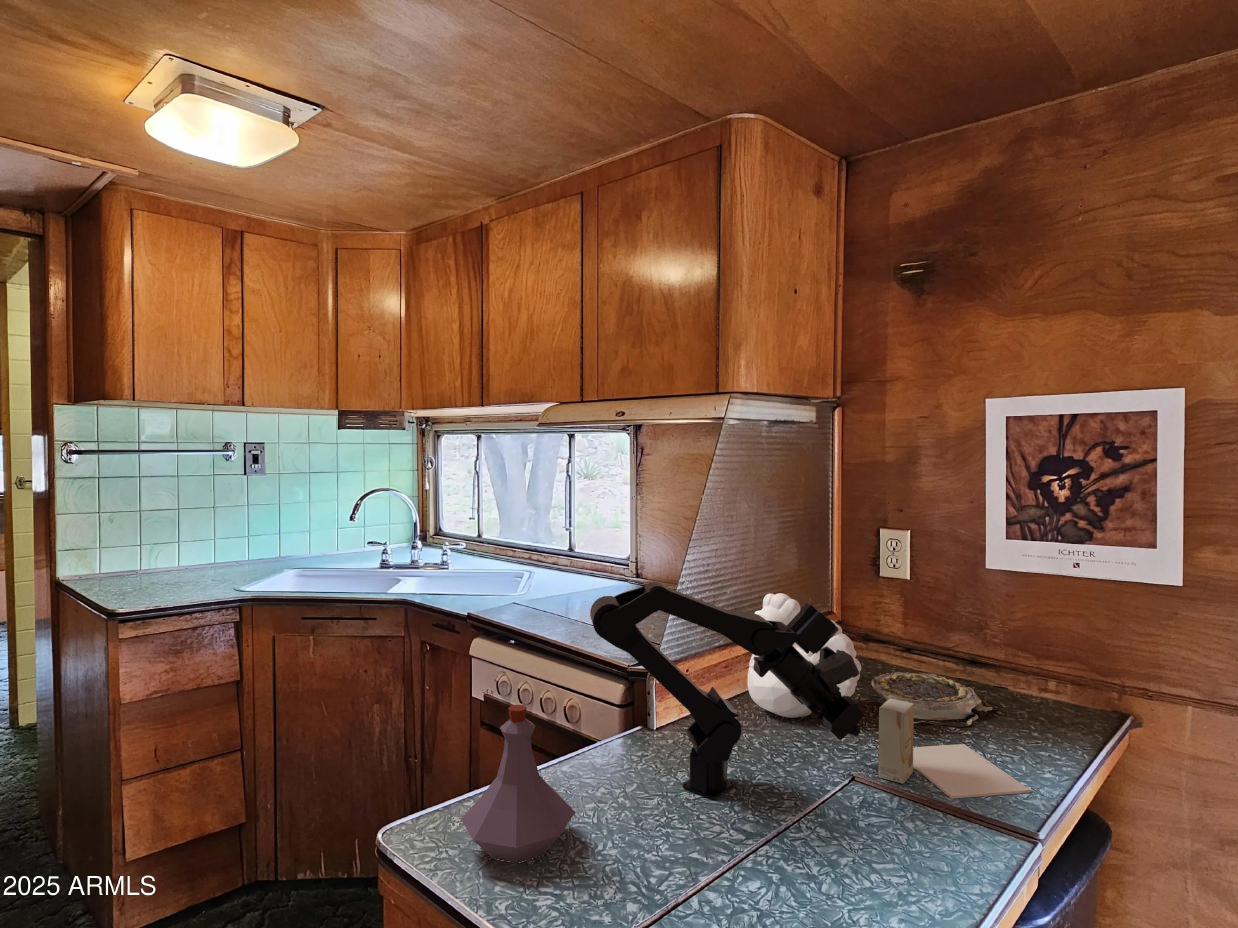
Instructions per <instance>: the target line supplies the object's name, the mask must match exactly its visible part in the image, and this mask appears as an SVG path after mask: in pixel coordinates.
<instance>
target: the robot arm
mask: <svg viewBox="0 0 1238 928" xmlns="http://www.w3.org/2000/svg"><path fill="white" fill-rule="evenodd" d="M657 612H663V613H665V614H668V615H671V616H672V617H676V618H679V619H682V620H684V621H686V622H688V623H692V624H694V625H697V626H700V627H702V628H705V629H708V630H710V631H713V632H716V633H717V634H721V635H722V636H723V637H726V639H727V640H730V641H731V642H733V643H734V644H736V645H737V646H739V647H740V648H743V649H744V650H746V651H747V652H749V653H750V654H751V655H752V654H754V655H756V656H760V657H754V671H755V672H756V673H757V674H758V675H759V676H760V677H764V676H765V674H766V673H767V672H768V671H771V672H772V673H773V674H774V675H775V676H776V677H777V678H778V679H779V680H780V681H781V682H782V683H783V684H784V685H785V686H786V687H787V688H788V689H789V690H790V691H791V694H792V695H793V696H794V697H795V698H796V699H797V700H798V701H799V702H800V703H801V704H802V705H803V704H804V705H805V706H806V707H807V708H809V709H810V710H811V711H812V713H811V714H812V715H813V716H814V717H815V718H816V719H817V720H819V721H820V722H821V724H822V725H823V726H824V727H825V728H826V729H828V730H829V732H830V733H832V734H833V736H835V737H836V738H837V739H838V740H839V741H840V740H843V739H844V738H846V736H848V734H849V735H852V736H854V737H857V736H859V735H860V733H861V730H860V728H859V727H858V723H859V722H860V720H862V719H863V718H864V716H866V709H864V707H862V706H861V705H860V704H859V703H858V702H857V701H856V700H854V699H853V698H852V697H851V696H850V697H849V696H845V695H844V696H841V692H840V691H839V690H840V688H839V687H838V686H837V684H841V683H843V682H845V681H846V680H848V679H850V678H852V677H856V676H858V675H859V671H858V669H857V666H856V664H855V662H854V660H853V658H852V656H851V655H849V654H848V653H846V652H845V651H840V650H836V651H837V652H836V653H835V652H834V651H833V650H832V649H830V648H829V647H827V646H826V647H824V648H822V647H823V646H824V645H825V644H826V643H827V642H828V641H829V640H830V639H831V638H832V637H833V636H834V635H835V633H836V632H837V631H838V630H839V629H838V627H837V626H836V625H835V624H834V623H833V622H832V621H831V620H832V619H830V618H829V617H827V616H825V615H824V614H823V613H822V612H820V611H819V610H818V609H816V608H815V606H813V604H810V603H809V602H806V603H805V604H804V605H802V607H800V612H799V613H798V614H797V615H796V616H795V617H794V618H793V619H792V620H791V621H790V622H789V623H788V625H787V626H786V625H785V624H784V623H782V622H778V621H769V620H765V619H764V618H763V617H761V616H760V615H758V614H755V613H753V612H748V611H742V610H734V609H732V610H731V609H725V608H721V607H719V606H717V605H714V604H712V603H709V602H706V601H703V600H701V599H699V598H696V597H693V596H691V595H688V594H686V593H683V592H680V591H678V590H675V589H672V588H670V587H668V586H665V585H664V584H662V583H661V582H658V581H651V582H649V583H646V584H645V585H643V586H641V587H636V588H634V589H629V590H627V591H624V592H621V593H619V594H616V595H614V596H613V595H604V596H601V597H598V598H597V599H596V600H594V602H592V605H591V608H590V611H589V614H590V615H589V617H590V620H591V623H592V626H593V629H594V632H595V633H596V634H597V636H599V637H600V638H602V639H603V640H605V641H606V642H607V643H608V644H610V645H612V646H614V647H615V648H617V649H619V650H621V651H623V652H626V653H627V654H629V655H630V656H631V657H632V658H633V659H634V660H635V661H637V663H638V664H639V665H640V666H642V668H644V669H645V670H646V672H648V673H649V674H650V675H651V676H652V677H653V678H654V679H655V680H656V681H657V682H659V684H660V685H661V686H662V687H663V688H664V689H665V690H666V691H667V692H669V694H671V695H672V696H673V697H674V698H675V699H676V700H677V701H678V702H679V703H680V704H681V705H682V706H683V707H684V708H685V709H686V710H687V711H688V713H690V715H691V716H692V718H693V719H694V721H693V722H692V723H691V724H690V725H689V727H687V728H686V730H685V731H686V735H687V737H688V741H689V742H690V743H691V745H692V747H691V749H690V753H689V780H687V781H685V782H683V783H682V788H683V789H685V790H688V791H690V792H693V793H695V794H698V795H700V796H703V797H705V798H708V799H711V800H716V799H718V798H719V797H720V796H722V795H723V794H725V793H726V792H728V791H729V790H731V789H732V788H734V787H735V781H732V780H729V779H728V761H729V760H730V756H731V753H732V751H733V749H734V746H735V745H737V743H738V742H739V740H740V739H741V735H742V724H741V723H740V721H739V720H738V719H737V717H739V713H738V712H737V711H736V710H735V708H734V707H733V705H732V704H731V703H730V701H729V700H727V699H725V698H723V697H722V696H721V695H720V694H719V693H718V691H717V689H716V688H715V687H714V686H712V687H711V688H710V690H709V691H708V692H707V691H705V690H703V689H702V688H700V687H698V686H697V685H696V684H695V683H694V681H692V680H691V679H690V677H688V676H687V675H686V674H685V673H684V672H683V671H682V670H681V669H680V668H679V667H678V666H677V665H676V664H674V662H673V661H672V660H671V659H669V658H668V657H667V655H666V654H664V653H663V652H662V650H661V649H659V648H658V647H657V646H656V644H654V643H653V642H652V641H651V640H650V639H649V638H648V637H647V636H646V635H645V634H644V633H643V632H642V630H641V629H640V628H639V627H638V624H639V623H641V622H643V620H645V619H647V618H648V617H650V616H651V615H653V614H655V613H657ZM794 643H795V644H796V645H797V646H799V647H800V648H801V649H802V650H803V651H804V652H805V653H806V654H808V653H809V651H810V652H811V653H812V654H813V655H814V654H815V653H816V654H817V653H818V652H819V651H820V659H819V660H818V661H819V663H817V664H816V665H814V664H813V663H812V662H810V661H808V660H807V659H806V658H805V657H804V656H803V655H801V654H800V653H799V652H798V651H797V650H796V649H795V648H794V647H793V646H792V645H793V644H794ZM821 648H822V649H821Z"/></svg>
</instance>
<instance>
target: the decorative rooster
mask: <svg viewBox="0 0 1238 928" xmlns="http://www.w3.org/2000/svg"><path fill="white" fill-rule="evenodd" d="M800 610H801V605H800V603H799V601H797V600H796V599H793V598H791V597H790V596H789V595H788V594H786V593H780V592H778V593H775V594H774V593H767V594H766V595H765V596H764V597H763V600H762V608H761V609H760V610H756V611H754V614H758V615H760V616H761V617H763V618H764V619H765V620H769V621H778V622H782V623H784V624H785V625H786V626H787V625H788V623H789V622H790V621H791V620H792V619H793V618H794V617H795V616H796V615H797V614H798V613H799V612H800ZM830 620H831V621H832V622H833V623H834V624H835V625H836V626H837V627H838V629H839V630H838V631H837V632H836V633H835V635H834V636H833V637H832V638H831V639H830V640H829V641H828V642H827V643H826V644H825V645H824V646H823V647H822V648H824V647H826V646H827V647H829V648H830V649H832V650H833V651H834V652H835V653H836V652H837V651H836V650H840V651H845V652H846V653H848V654H849V655H851V656H852V658H853V660H854V662H855V664H856V666H857V669H858V671H859V675H858V676H856V677H852V678H850V679H848V680H846V681H845V682H843V683H841V684H837V686H838V687H839V688H840V690H839V691H840V692H841V696H844V695H845V696H849V697H850V698H851V697H852V695H853V694H854V693H855V691H856V687H857V685H858V680H860V677H861V671H862V665H861V662H860V661H859V660H858V658H856V657H857V650H855V646H854V645H855V644H854V642H853V641H852V639H851V638H850V637H849V636H848V635H847V634H845V633H843V628H842V627H841V625H839V624H837V623H836V622H835V621H834V620H832V619H830ZM792 646H793V647H794V648H795V649H796V650H797V651H798V652H799V653H800V654H801V655H803V656H804V657H805V658H806V659H807V660H808V661H810V662H812V663H813V664H814V665H816V664H817V663H819V661H818V660H819V659H820V651H819V652H818V653H817V654H816V653H815V654H814V655H813V654H812V653H811V652H810V651H809V653H808V654H806V653H805V652H804V651H803V650H802V649H801V648H800V647H799V646H797V645H796V644H795V643H794V644H793V645H792ZM822 648H821V649H822ZM754 657H760V656H756V655H754V654H752V653H751V657H750V660H749V663H748V670H747V671H748V672H747V689H748V693H749V696H750V697H751V699H752V700H753V702H754V703H755V704H756V705H757V706H759V707H760V708H762V709H764V710H765V711H767V712H769V713H770V712H771V713H773V714H775V715H777V716H781V717H785V718H789V719H790V718H791V719H793V718H803V717H804V718H806V717H807V716H809V715H811V714H812V711H811V710H810V709H809V708H807V707H806V706H805V705H804V704H803V705H802V704H801V703H800V702H799V701H798V700H797V699H796V698H795V697H794V696H793V695H792V694H791V691H790V690H789V689H788V688H787V687H786V686H785V685H784V684H783V683H782V682H781V681H780V680H779V679H778V678H777V677H776V676H775V675H774V674H773V673H772V672H771V671H768V672H767V673H766V674H765V676H764V677H760V676H759V675H758V674H757V673H756V672H755V671H754Z"/></svg>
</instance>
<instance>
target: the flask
mask: <svg viewBox="0 0 1238 928" xmlns="http://www.w3.org/2000/svg"><path fill="white" fill-rule="evenodd" d="M507 709H508V714H509V715H508V716H509V719H508V720H507V721H506V722H505V723H503V724H502V725H501V726H500V727H499V729H500V731H501V734H502V735H503V737H504V745H503V752H502V756H501V760H500V762H499V763H500V764H499V767H498V770H497V775H496V777H495V778H494V780H493V781H492V782H491V783H490V785H489V786H488V787H487V788H486V790H485V791H484V793H482V795H481V796H480V797H479V798H478V799H477V800H476V801H475V802H474V804H472V806H471V807H470V808H469V809H468V810H467V811H466V812H465V814H463V815H462V817H461V818H460V820H461V822H462V824H463V826H464V827H465V829H466V831H467V832H468V834H469V836H470V837H471V839H472V841H473V842H475V844H476V845H478V846H479V848H480V849H482V850H483V851H484V852H485V853H486V854H487V855H488V856H490V858H491V859H493V858H495V859H499V860H504V861H510V862H514V863H513V864H515V863H519V862H522V861H525V860H529V859H532V858H535V859H537V858H536V857H539V856H542V855H543V856H544V855H545V853H546V852H547V851H548V850H549V849H550V848H551V846H552V845H553V844H554V843H555V842H556V840H558V838H559V837H560V836H561V834H562V832H563V831H564V830H565V828H566V827H567V825H569V823H570V821H571V820H572V819H573V817H574V816H575V814H576V810H574V809H573V808H572V807H571V805H570V804H569V803H568V802H567V801H566V800H565V799H564V798H563V797H562V796H561V794H560V793H558V792H557V791H556V790H555V789H554V788H553V787H552V786H551V785H549V783H547V781H545V779H544V778H543V777H542V776H541V775H540V773H539V769H538V766H537V762H536V759H535V755H534V752H533V748H532V738H531V737H532V735H533V732H534V731H535V728H536V725H535V724H534V723H533V722H532V721H530V720H529V719H527V718H526V716H527V715H526V713H527V706H525V705H524V704H515V705H510V706H509V707H508V708H507ZM543 856H542V857H543ZM539 858H540V857H539ZM499 860H498V861H499ZM532 860H533V859H532ZM504 861H503V862H504ZM529 861H530V860H529ZM510 862H509V863H510ZM525 862H526V861H525ZM522 863H523V862H522ZM519 864H520V863H519Z"/></svg>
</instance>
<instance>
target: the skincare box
mask: <svg viewBox="0 0 1238 928" xmlns="http://www.w3.org/2000/svg"><path fill="white" fill-rule="evenodd" d="M914 720H915V718H914V703H909V702H905V701H900V700H896V699H888V700H887V701H886V702H885V703H884V704H883V703H882V705H880V706H879V709H878V778H880V779H885V780H888V781H892V782H895V783H899V784H905V782H907V780H909V778H910V776H911V775H912V773H913V772H914V767H913V747H914V723H913V722H915V721H914Z"/></svg>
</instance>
